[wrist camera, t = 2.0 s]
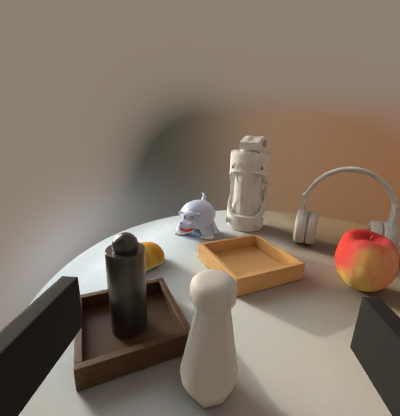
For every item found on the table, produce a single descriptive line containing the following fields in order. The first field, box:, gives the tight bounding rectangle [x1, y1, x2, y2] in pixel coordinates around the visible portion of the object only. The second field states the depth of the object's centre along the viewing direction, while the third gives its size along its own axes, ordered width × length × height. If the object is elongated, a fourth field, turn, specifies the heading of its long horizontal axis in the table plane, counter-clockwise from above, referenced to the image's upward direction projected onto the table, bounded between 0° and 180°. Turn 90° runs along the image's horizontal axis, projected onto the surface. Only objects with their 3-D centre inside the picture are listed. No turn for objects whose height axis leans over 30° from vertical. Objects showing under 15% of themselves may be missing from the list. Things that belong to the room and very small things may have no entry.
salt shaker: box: [180, 269, 238, 408], centre depth 24 cm, size 6×6×13 cm
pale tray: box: [198, 234, 305, 297], centre depth 49 cm, size 15×15×3 cm
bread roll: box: [142, 242, 164, 271], centre depth 50 cm, size 8×9×4 cm
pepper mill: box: [105, 232, 148, 339], centre depth 31 cm, size 5×5×13 cm
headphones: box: [293, 167, 400, 248], centre depth 56 cm, size 20×8×19 cm, turn 64°
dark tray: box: [74, 278, 190, 392], centre depth 33 cm, size 13×13×3 cm
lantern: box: [226, 136, 271, 232], centre depth 70 cm, size 13×10×25 cm
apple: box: [335, 229, 399, 292], centre depth 43 cm, size 10×10×10 cm
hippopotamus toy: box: [174, 193, 219, 240], centre depth 64 cm, size 11×15×10 cm
